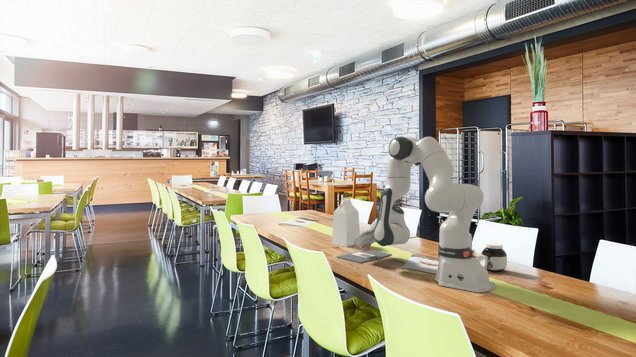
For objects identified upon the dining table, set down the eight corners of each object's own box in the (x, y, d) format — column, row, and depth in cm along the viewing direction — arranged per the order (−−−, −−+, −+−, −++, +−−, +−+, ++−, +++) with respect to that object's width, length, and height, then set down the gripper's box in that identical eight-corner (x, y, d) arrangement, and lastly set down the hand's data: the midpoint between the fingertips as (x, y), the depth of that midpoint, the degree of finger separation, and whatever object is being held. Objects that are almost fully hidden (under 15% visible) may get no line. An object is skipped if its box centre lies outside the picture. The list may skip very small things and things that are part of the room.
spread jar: (509, 270, 175) (509, 244, 174) (498, 276, 167) (498, 248, 167) (482, 265, 184) (482, 240, 183) (470, 270, 176) (470, 244, 175)
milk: (346, 246, 225) (346, 200, 224) (332, 243, 234) (331, 199, 233) (360, 243, 234) (360, 199, 232) (346, 240, 242) (346, 198, 241)
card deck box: (359, 238, 207) (370, 240, 201) (359, 247, 207) (370, 250, 201) (354, 239, 205) (366, 241, 199) (354, 248, 205) (366, 251, 199)
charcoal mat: (391, 255, 205) (391, 254, 205) (360, 263, 188) (360, 262, 188) (367, 250, 216) (367, 249, 216) (336, 257, 200) (336, 256, 200)
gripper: (368, 237, 186) (353, 254, 194) (395, 232, 200) (379, 248, 208) (361, 226, 190) (346, 244, 197) (387, 222, 203) (372, 238, 211)
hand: (363, 246), depth 203 cm, fingers closed on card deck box, 3 cm apart
